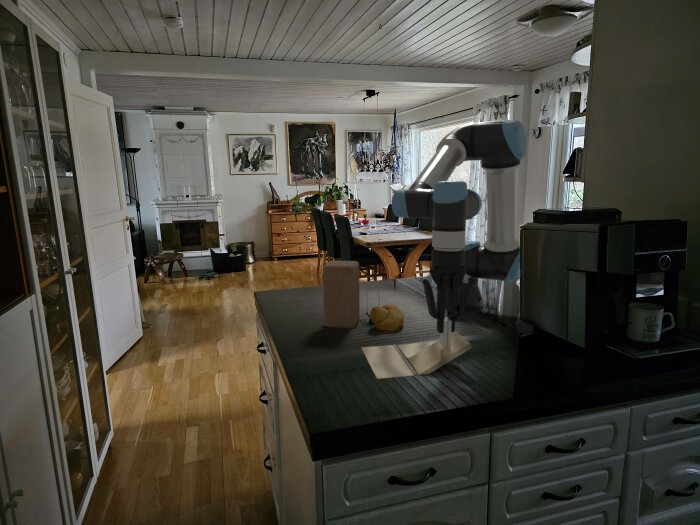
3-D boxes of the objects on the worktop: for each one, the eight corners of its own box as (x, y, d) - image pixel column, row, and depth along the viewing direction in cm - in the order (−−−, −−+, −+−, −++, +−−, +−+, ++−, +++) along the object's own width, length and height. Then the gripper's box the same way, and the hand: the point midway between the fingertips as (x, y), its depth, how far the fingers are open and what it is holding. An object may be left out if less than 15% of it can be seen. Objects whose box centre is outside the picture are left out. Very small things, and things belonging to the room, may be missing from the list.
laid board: (395, 349, 118) (395, 344, 118) (417, 379, 100) (417, 374, 100) (361, 351, 117) (361, 346, 117) (377, 383, 98) (377, 377, 98)
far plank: (445, 344, 120) (445, 340, 120) (459, 357, 112) (459, 352, 111) (397, 349, 118) (397, 345, 118) (406, 362, 110) (406, 358, 109)
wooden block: (354, 329, 134) (353, 266, 131) (323, 327, 136) (321, 265, 133) (360, 319, 144) (359, 260, 140) (330, 318, 146) (329, 259, 142)
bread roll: (381, 320, 143) (381, 296, 142) (410, 323, 140) (410, 299, 138) (367, 332, 132) (367, 307, 130) (398, 336, 128) (398, 310, 126)
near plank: (456, 334, 110) (454, 330, 109) (472, 347, 101) (470, 343, 101) (409, 362, 109) (407, 359, 109) (421, 378, 100) (418, 374, 100)
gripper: (468, 245, 105) (464, 337, 109) (415, 247, 103) (414, 341, 107) (482, 249, 98) (477, 348, 102) (426, 251, 96) (424, 352, 100)
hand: (445, 344), depth 104 cm, fingers closed
